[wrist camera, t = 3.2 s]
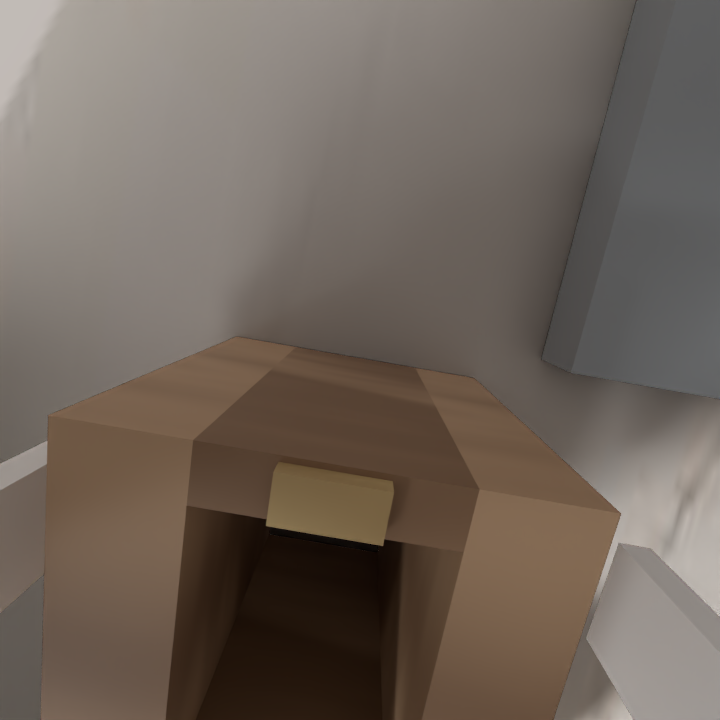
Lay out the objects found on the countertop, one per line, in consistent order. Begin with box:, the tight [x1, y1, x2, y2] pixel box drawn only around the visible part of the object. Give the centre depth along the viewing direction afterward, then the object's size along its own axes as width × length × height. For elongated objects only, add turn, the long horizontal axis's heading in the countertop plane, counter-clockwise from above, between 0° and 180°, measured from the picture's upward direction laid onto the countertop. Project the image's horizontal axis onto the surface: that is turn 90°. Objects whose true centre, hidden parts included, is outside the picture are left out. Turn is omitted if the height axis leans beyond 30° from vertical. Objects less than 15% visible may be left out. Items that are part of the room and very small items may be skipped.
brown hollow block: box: [40, 337, 621, 720], centre depth 10 cm, size 8×8×8 cm
